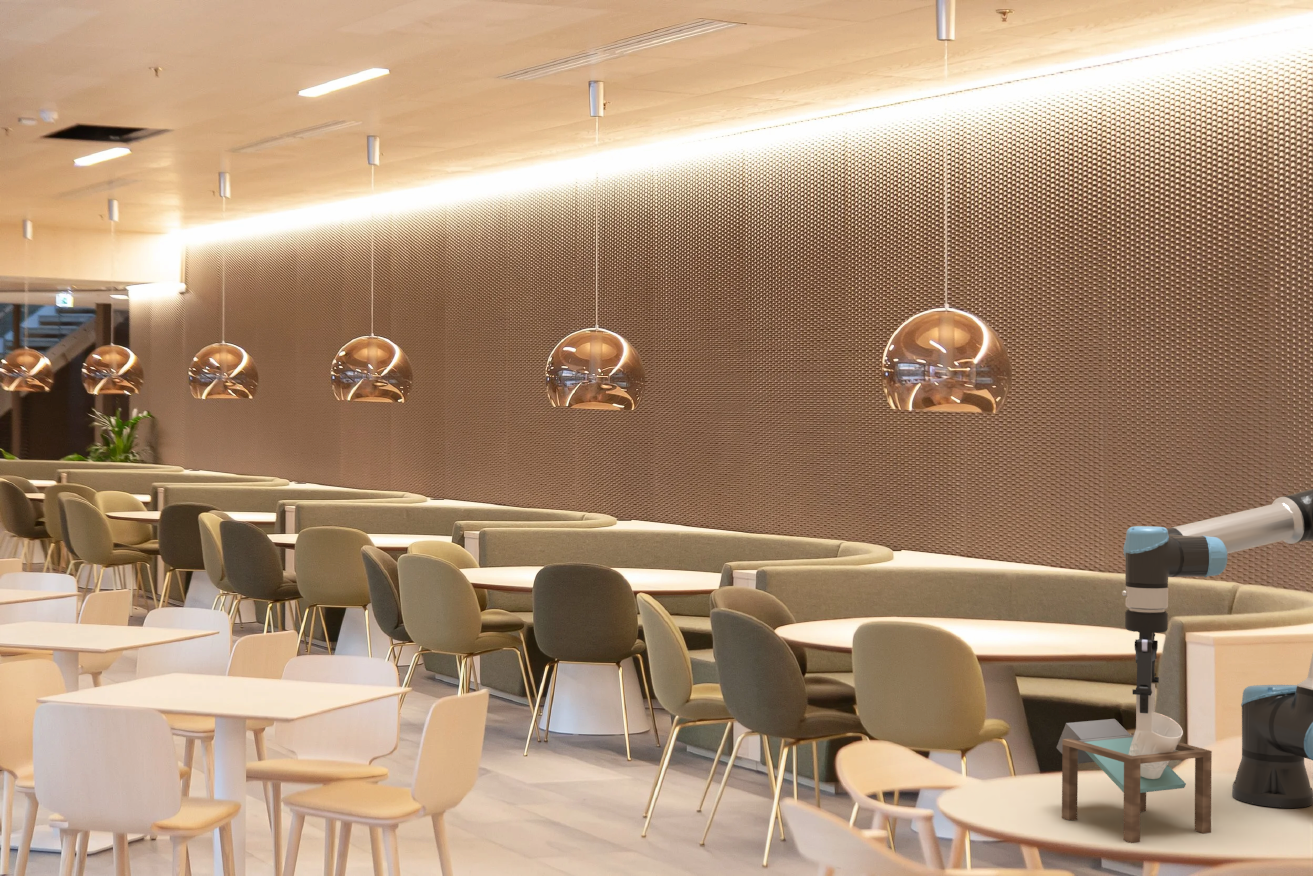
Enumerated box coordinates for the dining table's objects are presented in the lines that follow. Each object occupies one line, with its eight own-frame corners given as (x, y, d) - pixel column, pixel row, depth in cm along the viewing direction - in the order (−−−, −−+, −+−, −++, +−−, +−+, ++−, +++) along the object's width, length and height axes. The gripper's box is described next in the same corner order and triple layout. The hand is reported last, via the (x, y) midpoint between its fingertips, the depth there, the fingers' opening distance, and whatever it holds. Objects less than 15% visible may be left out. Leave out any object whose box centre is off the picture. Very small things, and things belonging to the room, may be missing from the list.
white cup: (1143, 784, 270) (1161, 740, 266) (1114, 758, 276) (1131, 714, 272) (1173, 778, 274) (1192, 735, 270) (1143, 752, 280) (1161, 709, 276)
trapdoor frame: (1138, 808, 288) (1139, 732, 288) (1210, 832, 271) (1211, 750, 271) (1061, 818, 280) (1062, 739, 280) (1131, 843, 263) (1131, 759, 263)
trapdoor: (1108, 742, 292) (1119, 716, 290) (1174, 811, 276) (1186, 783, 273) (1052, 748, 287) (1062, 721, 284) (1115, 818, 270) (1127, 790, 267)
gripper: (1129, 602, 286) (1128, 711, 286) (1121, 616, 263) (1120, 734, 263) (1169, 603, 284) (1169, 713, 284) (1165, 618, 260) (1164, 738, 260)
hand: (1145, 724), depth 273 cm, fingers open, 13 cm apart
